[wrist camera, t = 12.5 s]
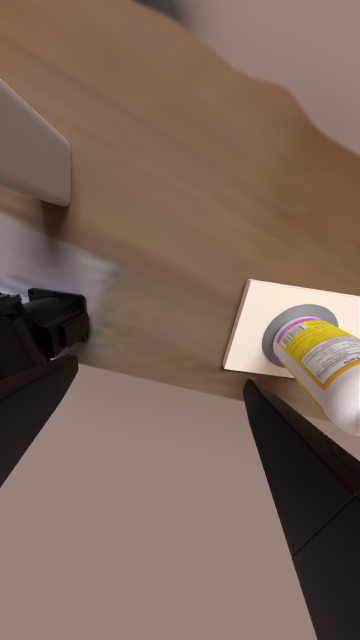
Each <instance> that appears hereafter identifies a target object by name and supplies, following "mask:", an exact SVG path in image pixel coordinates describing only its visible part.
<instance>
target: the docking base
mask: <svg viewBox="0 0 360 640" xmlns="http://www.w3.org/2000/svg"><path fill="white" fill-rule="evenodd" d="M305 316H310V317H316V318H319V319H322V320H324V321H326V322H328V323H330V324H332V325H334V326H336V327H338V328H340V329H341V330H343V331H345V332H347V333H349V334H351V335H353V336H355V337H357V338H359V339H360V296H354V295H348V294H341V293H335V292H328V291H322V290H315V289H309V288H302V287H296V286H290V285H283V284H277V283H270V282H264V281H257V280H251V279H247V282H246V285H245V289H244V292H243V296H242V299H241V302H240V306H239V309H238V312H237V316H236V319H235V323H234V326H233V329H232V333H231V336H230V339H229V343H228V346H227V350H226V353H225V356H224V360H223V363H222V364H223V367H224V369H229V370H237V371H244V372H252V373H259V374H267V375H275V376H282V377H290V378H294V377H293V376H292V374H291V373H290V372H289V371H288V370H287V369H286V367H285V366H284V365H283V364H282V363H281V362H280V360H279V359H278V358H277V356H276V355H275V353H274V350H273V341H274V338H275V335H276V334H277V332H278V331H279V329H280V328H281V327H282V326H283V325H285V324H286V323H287V322H289V321H291V320H293V319H296V318H300V317H305Z"/></svg>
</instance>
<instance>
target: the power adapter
mask: <svg viewBox="0 0 360 640" xmlns="http://www.w3.org/2000/svg"><path fill="white" fill-rule="evenodd" d="M0 186H1V187H4V188H7V189H10V190H13V191H16V192H19V193H22V194H25V195H28V196H31V197H34V198H37V199H39V200H42V201H45V202H49V203H52V204H56V205H59V206H63V207H66V206H68V205H69V204H70V200H71V148H70V144H69V143H68V141H67V140H66V139H65V138H64V137H63V136H62V135H61V134H59V133H58V132H57V131H56V130H55V129H54V128H53V127H52V126H51V125H50V124H49V123H48V122H47V121H46V120H44V119H43V118H42V117H41V116H40V115H39V114H38V113H37V112H36V111H35V110H34V109H33V108H32V107H31V106H29V105H28V104H27V103H26V102H25V101H24V100H23V99H22V98H21V97H20V96H19V95H18V94H17V93H16V92H14V91H13V90H12V89H11V88H10V87H9V86H8V85H7V84H6V83H5V82H4V81H3V80H2V79H1V78H0Z"/></svg>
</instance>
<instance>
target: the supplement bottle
mask: <svg viewBox="0 0 360 640" xmlns="http://www.w3.org/2000/svg"><path fill="white" fill-rule="evenodd" d="M273 350H274V353H275V355H276V356H277V358H278V359H279V360H280V362H281V363H282V364H283V365H284V366H285V367H286V369H287V370H288V371H289V372H290V373H291V374H292V376H293V377H294V378H295V379H296V380H297V381H298V383H299V384H300V385H301V386H302V387H303V388H304V390H305V391H306V392H307V393H308V394H309V395H310V397H311V398H312V399H313V400H314V401H315V402H316V404H317V405H318V406H319V407H320V408H321V409H322V411H323V412H324V413H325V414H326V416H327V417H328V418H329V419H330V420H331V421H332V422H333V423H334V424H335V425H336V426H337V427H339V428H340V429H342V430H344V431H346V432H347V433H350V434H353V435H356V436H359V437H360V339H359V338H357V337H355V336H353V335H351V334H349V333H347V332H345V331H343V330H341V329H340V328H338V327H336V326H334V325H332V324H330V323H328V322H326V321H324V320H322V319H319V318H316V317H310V316H305V317H300V318H296V319H293V320H291V321H289V322H287V323H286V324H285V325H283V326H282V327H281V328H280V329H279V331H278V332H277V334H276V335H275V338H274V341H273Z"/></svg>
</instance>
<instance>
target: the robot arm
mask: <svg viewBox="0 0 360 640" xmlns="http://www.w3.org/2000/svg"><path fill="white" fill-rule="evenodd" d="M33 292H34V293H33ZM28 296H29V301H30V302H28V303H25V304H22V302H21V300H22V299H21V297H20V295H19V294H17V295H10V294H2V293H0V487H1V486H2V484H3V483H4V482H5V480H6V479H7V477H8V476H9V474H10V473H11V471H12V470H13V469H14V467H15V466H16V465H17V463H18V462H19V460H20V459H21V457H22V456H23V455H24V453H25V452H26V450H27V449H28V448H29V446H30V445H31V443H32V442H33V440H34V439H35V437H36V436H37V435H38V433H39V432H40V430H41V429H42V428H43V426H44V425H45V423H46V422H47V421H48V419H49V418H50V416H51V415H52V413H53V412H54V411H55V409H56V408H57V406H58V405H59V403H60V402H61V400H62V398H63V397H64V395H65V394H66V392H67V390H68V388H69V387H70V385H71V383H72V381H73V379H74V378H75V376H76V374H77V372H78V358H77V356H76V355H72V354H67V355H64V356H62V357H59V358H57V359H54V360H52V361H51V359H50V358H54V357H56V356H57V355H58V354H59V353H60V352H62V351H63V350H64V349H65V348H69V347H71V346H72V345H73V344H74V343H75V342H81V343H85V342H86V341H87V340H88V331H89V327H88V314H87V312H86V301H85V297H84V296H83V295H79V294H72V293H66V292H59V291H52V290H45V289H38V288H31V289H28ZM79 298H81V300H79ZM83 338H84V339H85V340H84V339H83ZM243 396H244V401H245V405H246V410H247V415H248V420H249V424H250V427H251V430H252V433H253V436H254V440H255V443H256V446H257V449H258V452H259V456H260V459H261V462H262V465H263V468H264V471H265V475H266V478H267V481H268V484H269V487H270V490H271V493H272V497H273V500H274V503H275V506H276V509H277V513H278V516H279V519H280V522H281V525H282V528H283V532H284V534H285V538H286V541H287V544H288V547H289V551H290V554H291V556H292V561H293V563H294V567H295V570H296V573H297V576H298V580H299V583H300V586H301V589H302V592H303V595H304V598H305V602H306V605H307V608H308V611H309V614H310V617H311V621H312V624H313V627H314V630H315V633H316V636H317V640H360V461H359V460H357V459H356V458H355V457H353V456H352V455H351V454H349V453H348V452H347V451H346V450H344V449H343V448H342V447H340V446H339V445H338V444H337V443H335V442H334V441H333V440H332V439H330V438H329V437H328V436H327V435H324V433H323V432H322V431H320V430H319V429H318V428H317V427H315V426H314V425H313V424H312V423H310V422H309V421H308V420H307V419H305V418H304V417H303V416H302V415H301V414H299V413H298V412H297V411H296V410H294V409H293V408H292V407H291V406H289V405H288V404H287V403H286V402H284V401H283V400H282V399H281V398H279V397H278V396H277V395H276V394H274V393H273V392H272V391H271V390H269V389H268V388H267V387H266V386H264V385H263V384H262V383H261V382H259V381H258V380H257V379H254V378H248V379H247V381H246V384H245V386H244V389H243Z"/></svg>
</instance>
